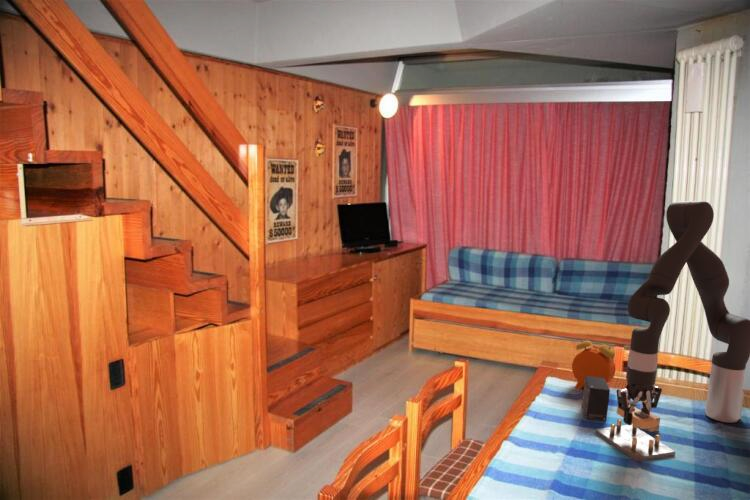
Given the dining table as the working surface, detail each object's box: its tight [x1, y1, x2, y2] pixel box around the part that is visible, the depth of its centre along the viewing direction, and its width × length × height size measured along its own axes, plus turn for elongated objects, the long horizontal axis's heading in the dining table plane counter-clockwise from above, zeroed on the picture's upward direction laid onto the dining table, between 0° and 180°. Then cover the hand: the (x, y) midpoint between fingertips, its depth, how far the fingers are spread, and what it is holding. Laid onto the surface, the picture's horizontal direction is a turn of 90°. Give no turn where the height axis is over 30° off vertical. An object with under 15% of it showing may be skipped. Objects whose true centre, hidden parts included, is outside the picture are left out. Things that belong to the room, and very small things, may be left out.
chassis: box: [594, 419, 676, 462], centre depth 169 cm, size 13×17×4 cm
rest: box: [644, 412, 661, 433], centre depth 181 cm, size 3×6×4 cm, turn 18°
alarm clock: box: [571, 332, 616, 390], centre depth 207 cm, size 13×6×20 cm, turn 49°
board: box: [616, 404, 657, 430], centre depth 168 cm, size 5×10×3 cm, turn 17°
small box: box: [581, 376, 611, 422], centre depth 188 cm, size 11×6×10 cm, turn 168°
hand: (635, 422), depth 169 cm, fingers closed on board, 5 cm apart
